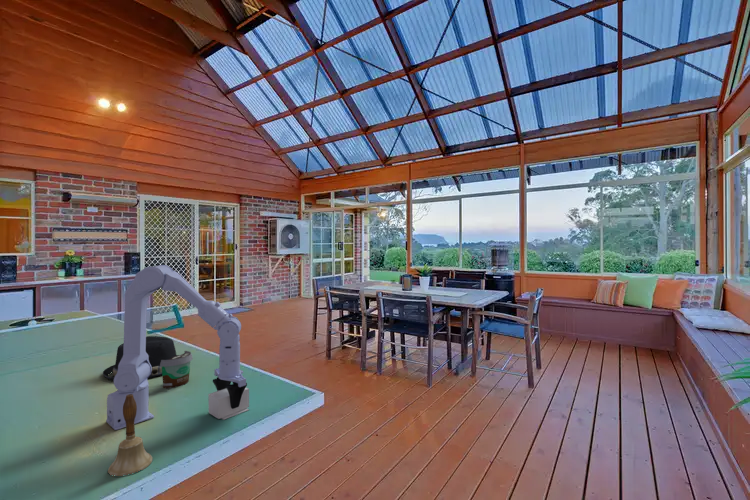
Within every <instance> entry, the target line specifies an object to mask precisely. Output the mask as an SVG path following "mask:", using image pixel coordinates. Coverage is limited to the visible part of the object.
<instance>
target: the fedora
mask: <svg viewBox="0 0 750 500" xmlns="http://www.w3.org/2000/svg"><path fill="white" fill-rule="evenodd" d="M123 349H124V342H123V343H121V344H120V345H119V346H118V347H117V350H116V356H115V364H113V365H111V366H109V367H107V368H105V369H103V371H102V375H103V377H105V378H106V379H108V380H110V381H114V377H115V375H116V374H117V372H118V365H119V363H120V361H121V359H122V357H123ZM146 353H147V354H148V356H149V363H150V364H151V367H152V372H151V374H150V376H149V377H148V378H147V379H152V378H155V377H159V376H162V366H160V363H161V360H169V359H171V358H172V357H174V356H179V355H180V354H177V351H176V347H175V342H174V340H173V339H171V338H169V337H167V336H157V335H156V336H155V335H149V336H147V335H146ZM111 372H113V373H111ZM110 373H111V374H112V375H113V376H110V375H109V376H107V375H108V374H110Z"/></svg>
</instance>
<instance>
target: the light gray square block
mask: <svg viewBox="0 0 750 500" xmlns="http://www.w3.org/2000/svg"><path fill="white" fill-rule="evenodd" d="M249 410H250V409H249V408H245V409H243V410H240V411H238V412H235V413H233V414H230V415H228V416H225V417H222V418H220V419H221V420H223V421H224V420H226V419H229V418H232V417H235V416H237V415H239V414H242V413H245V412H248V411H249Z"/></svg>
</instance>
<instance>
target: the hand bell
mask: <svg viewBox="0 0 750 500" xmlns="http://www.w3.org/2000/svg"><path fill="white" fill-rule="evenodd" d="M136 412H137V405H136V401H135V399H134V397H133V394H129V395H126V399H125V402H124V405H123V416H124V419H125V422H126V427H125V439H123V440H121V442H119V444H118V449H117V454H116V457H115V459H114V461H113V462H112V463H111V464H110V465H109V467H108V470H107V474H108V473H109V474H110V476H111V475H113V476H112V477H114V475H115V476H123V475H128V474H132V473H135V472H137V473H139V472H138V471H140V470H142V471H143V470H145V469H146V468H148V467H149V466H150V465H151V464H152V462H153V456H152V454H151V453H149V452H147V451H146V450H145V447H144V442H143V438H142V437H140V436H136V430H135V427H136V426H135V424H134V421H135V417H136ZM140 472H141V471H140ZM109 474H108V475H109ZM135 474H136V473H135ZM132 475H133V474H132Z"/></svg>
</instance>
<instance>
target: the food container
mask: <svg viewBox="0 0 750 500" xmlns="http://www.w3.org/2000/svg"><path fill="white" fill-rule="evenodd" d="M178 355H179V356H174V357H172V358H171V359H169V360H161V363H160V366H162V375H161V376H162V378H161V379H162V387H163V388H164V389H172V388H173V389H174V388H178V387H182V386H184V385H186V384H188V383H189V382H190V371H191V361H192V360H193V359H194V358H193V354H192V352H191V351H188V350H184V352H183V353H182V354H178Z"/></svg>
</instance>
